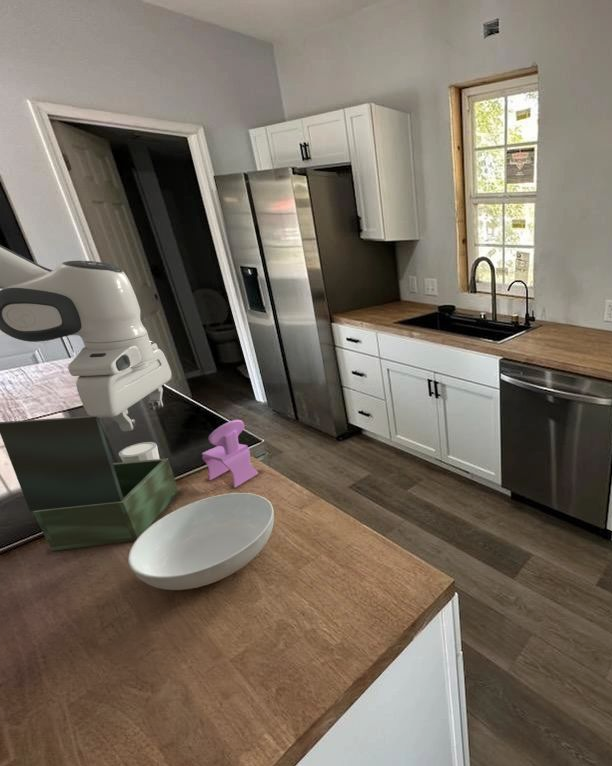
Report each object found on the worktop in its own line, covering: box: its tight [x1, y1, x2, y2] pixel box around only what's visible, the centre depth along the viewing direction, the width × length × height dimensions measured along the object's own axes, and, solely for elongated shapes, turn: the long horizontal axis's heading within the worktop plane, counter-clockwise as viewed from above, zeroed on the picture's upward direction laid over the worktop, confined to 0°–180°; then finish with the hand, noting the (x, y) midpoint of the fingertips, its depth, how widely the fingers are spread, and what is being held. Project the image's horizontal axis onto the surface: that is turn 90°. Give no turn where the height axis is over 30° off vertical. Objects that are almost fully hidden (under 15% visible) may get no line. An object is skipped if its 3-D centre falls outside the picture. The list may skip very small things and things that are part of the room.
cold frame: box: [32, 457, 180, 552], centre depth 83 cm, size 16×14×9 cm
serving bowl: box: [127, 492, 275, 591], centre depth 74 cm, size 21×21×7 cm
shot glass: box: [118, 441, 161, 462], centre depth 98 cm, size 7×7×7 cm
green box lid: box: [0, 415, 124, 512], centre depth 72 cm, size 17×14×1 cm
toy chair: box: [201, 419, 259, 488], centre depth 96 cm, size 8×9×15 cm
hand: (143, 418), depth 81 cm, fingers open, 8 cm apart
